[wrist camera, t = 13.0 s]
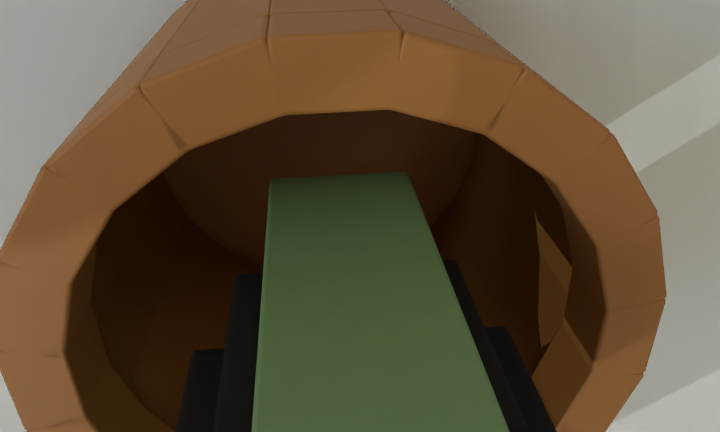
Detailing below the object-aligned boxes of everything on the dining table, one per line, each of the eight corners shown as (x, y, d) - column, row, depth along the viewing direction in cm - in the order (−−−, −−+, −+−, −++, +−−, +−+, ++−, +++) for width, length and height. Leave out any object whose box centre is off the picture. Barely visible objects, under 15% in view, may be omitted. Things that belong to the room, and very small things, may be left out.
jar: (174, 285, 22) (88, 587, 13) (105, -46, 17) (-135, 51, 7) (472, 264, 23) (600, 529, 14) (502, -57, 18) (750, 17, 8)
